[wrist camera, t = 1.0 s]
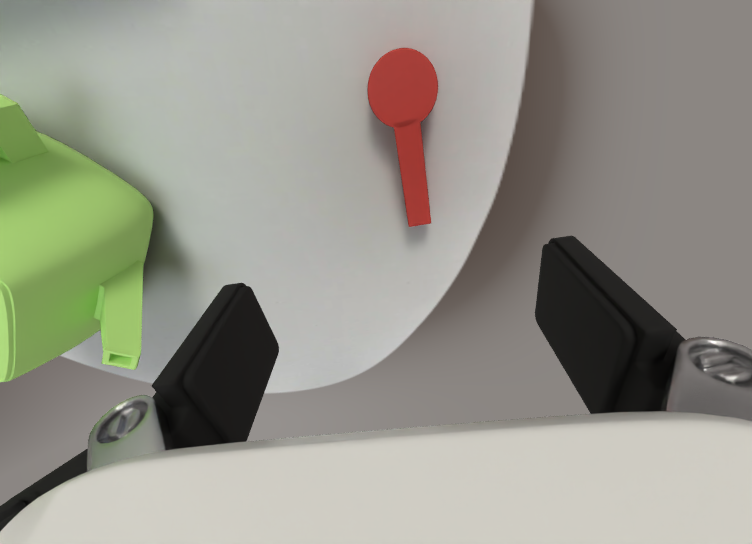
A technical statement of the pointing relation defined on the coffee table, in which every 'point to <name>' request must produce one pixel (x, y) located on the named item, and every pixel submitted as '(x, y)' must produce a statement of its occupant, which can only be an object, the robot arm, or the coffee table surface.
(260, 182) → the coffee table surface
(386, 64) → the red spoon
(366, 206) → the coffee table surface
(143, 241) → the teapot
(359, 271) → the coffee table surface
